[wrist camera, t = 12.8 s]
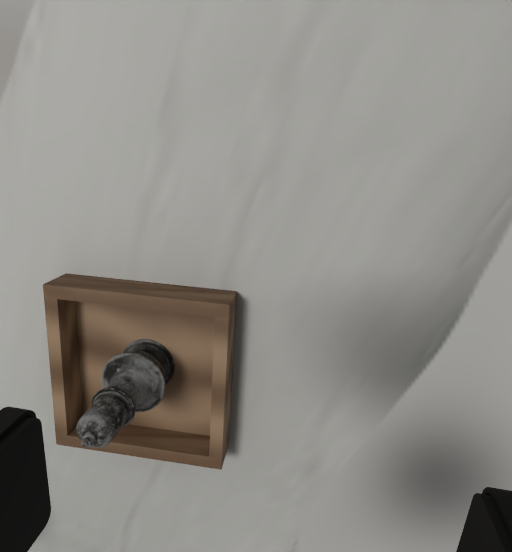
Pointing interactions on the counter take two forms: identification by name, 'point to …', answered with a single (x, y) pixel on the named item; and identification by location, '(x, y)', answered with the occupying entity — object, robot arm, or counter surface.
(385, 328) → the counter surface
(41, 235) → the counter surface
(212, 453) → the tray
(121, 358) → the dark grey rounded piece
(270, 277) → the counter surface
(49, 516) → the robot arm
